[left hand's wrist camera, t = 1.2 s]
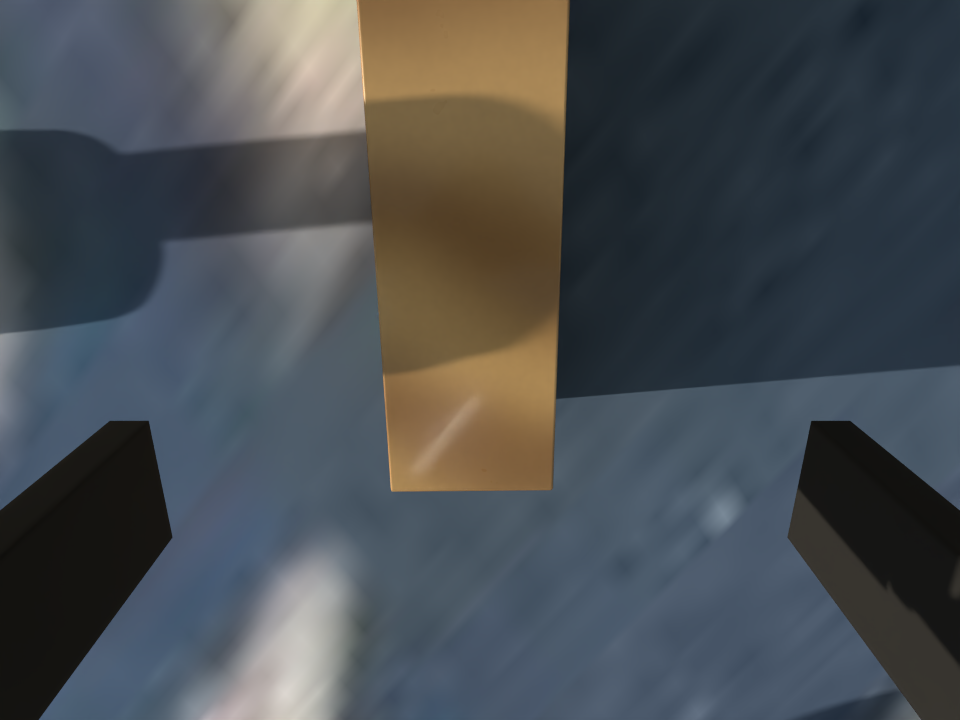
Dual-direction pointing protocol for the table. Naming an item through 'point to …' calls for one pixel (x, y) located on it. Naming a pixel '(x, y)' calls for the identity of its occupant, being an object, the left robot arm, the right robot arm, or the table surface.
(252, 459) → the table surface
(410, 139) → the board
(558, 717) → the table surface
